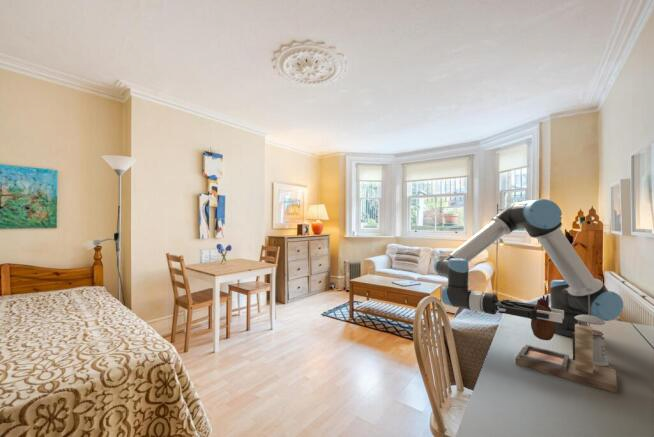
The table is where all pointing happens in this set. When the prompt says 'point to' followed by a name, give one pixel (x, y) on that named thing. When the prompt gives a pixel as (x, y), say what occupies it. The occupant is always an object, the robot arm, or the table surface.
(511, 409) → the table surface
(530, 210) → the robot arm
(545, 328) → the wooden figurine
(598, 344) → the french press
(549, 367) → the wooden tray stand
